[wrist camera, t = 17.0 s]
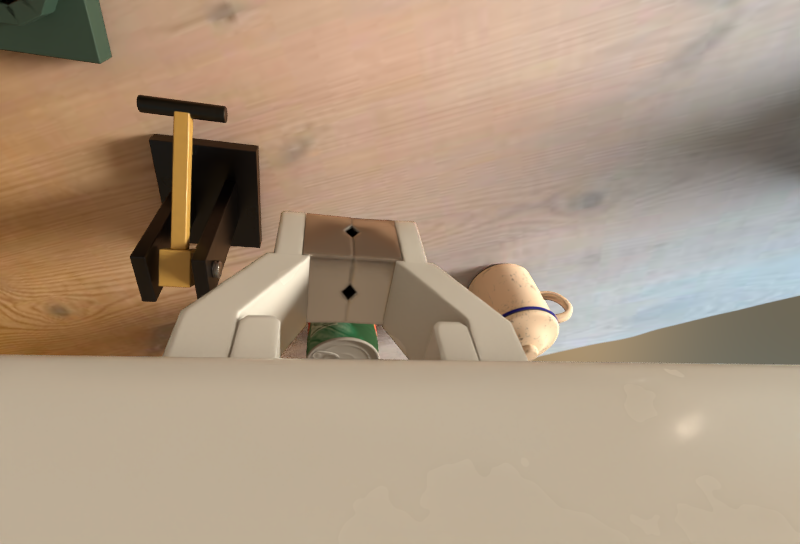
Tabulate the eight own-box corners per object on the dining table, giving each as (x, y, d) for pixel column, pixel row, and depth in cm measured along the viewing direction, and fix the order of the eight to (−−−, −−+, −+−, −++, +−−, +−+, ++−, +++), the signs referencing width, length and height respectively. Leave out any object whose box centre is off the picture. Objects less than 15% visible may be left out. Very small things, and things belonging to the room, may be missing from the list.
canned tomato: (384, 285, 52) (394, 353, 44) (353, 323, 56) (356, 393, 48) (328, 261, 49) (327, 330, 40) (298, 303, 52) (292, 375, 44)
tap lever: (146, 99, 32) (132, 90, 29) (229, 110, 33) (222, 102, 30) (143, 280, 33) (130, 284, 31) (222, 284, 34) (216, 288, 32)
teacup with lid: (465, 316, 58) (489, 386, 49) (465, 266, 52) (492, 336, 43) (548, 302, 58) (587, 369, 49) (557, 251, 52) (604, 317, 43)
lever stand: (153, 133, 37) (83, 214, 27) (258, 145, 39) (230, 225, 29) (173, 234, 44) (123, 330, 33) (261, 240, 46) (240, 333, 35)
